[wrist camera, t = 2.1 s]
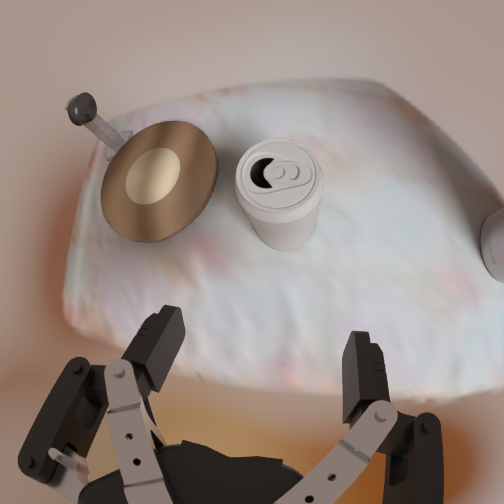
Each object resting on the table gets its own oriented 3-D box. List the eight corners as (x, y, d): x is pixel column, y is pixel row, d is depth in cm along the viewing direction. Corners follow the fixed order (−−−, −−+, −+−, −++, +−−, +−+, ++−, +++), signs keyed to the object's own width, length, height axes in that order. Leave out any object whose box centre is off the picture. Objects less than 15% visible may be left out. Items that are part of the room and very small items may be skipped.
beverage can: (258, 194, 30) (235, 133, 19) (316, 197, 29) (324, 134, 17) (253, 250, 29) (223, 215, 18) (314, 254, 28) (325, 219, 16)
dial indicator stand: (133, 133, 36) (84, 82, 23) (128, 159, 35) (73, 110, 22) (112, 139, 36) (63, 94, 24) (107, 165, 35) (51, 122, 23)
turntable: (218, 115, 32) (215, 109, 30) (218, 234, 28) (215, 231, 27) (115, 142, 34) (111, 138, 33) (100, 248, 31) (94, 246, 30)
